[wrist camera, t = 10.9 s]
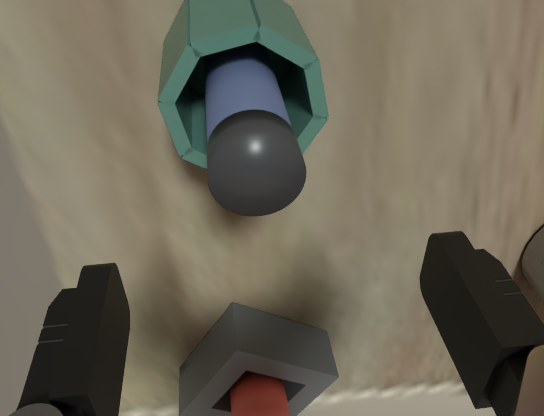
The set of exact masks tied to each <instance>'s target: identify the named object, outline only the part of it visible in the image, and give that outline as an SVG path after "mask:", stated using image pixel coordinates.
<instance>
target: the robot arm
mask: <svg viewBox="0 0 544 416" xmlns="http://www.w3.org/2000/svg"><path fill="white" fill-rule="evenodd" d="M522 272H523V274H524V276H525V278H526V280H527V281H528V282H529V284H530V285H531V286H532V288H533V289H534V291H535V292H536V293H537V295H538V296H539V298H540V299H541V300H542V302H543V303H544V227H543V228H542V229H541V230H540V231H539V232H538V233H537V234H536V235H535V236H534V237H533V239H532V240H531V241H530V243H529V244H528V246H527V248H526V250H525V252H524V254H523V259H522ZM420 288H421V292H422V296H423V298H424V300H425V303H426V305H427V307H428V309H429V311H430V313H431V315H432V318H433V320H434V322H435V324H436V326H437V328H438V330H439V332H440V335H441V337H442V339H443V341H444V343H445V345H446V347H447V349H448V352H449V354H450V356H451V358H452V360H453V362H454V364H455V366H456V369H457V371H458V373H459V375H460V377H461V379H462V381H463V383H464V386H465V388H466V390H467V392H468V394H469V396H470V398H471V400H472V403H473V405H474V407H475V409H479V408H487V407H493V409H494V411H495V413H496V415H497V416H544V325H543V323H542V322H541V320H540V319H539V317H538V316H537V314H536V313H535V311H534V310H533V309H532V307H531V306H530V304H529V303H528V301H527V300H526V298H525V297H524V295H523V294H521V293H520V289H519V288H518V287H517V285H516V284H515V282H514V281H512V278H511V276H510V275H509V273H508V272H507V270H506V269H505V268H504V266H503V265H502V263H501V262H500V261H499V260H497V259H496V258H495V257H494V256H492V255H491V254H490V253H488V252H487V251H486V250H484V249H477V250H475V249H474V248H473V246H472V244H471V243H470V241H469V240H468V238H467V237H466V235H465V234H464V233H463V232H461V231H455V232H445V233H434V234H431V235H430V237H429V239H428V243H427V248H426V252H425V256H424V260H423V265H422V269H421V273H420ZM129 330H130V310H129V304H128V300H127V297H126V294H125V290H124V287H123V284H122V280H121V277H120V274H119V270H118V267H117V265H116V264H115V263H108V264H97V265H87V266H83V268H82V270H81V273H80V277H79V281H78V285H77V288H69V289H62V290H61V292H60V293H59V294H58V296H57V297H56V298H55V299H54V301H53V302H52V303H51V305H50V306H49V307H48V310H47V314H46V317H45V320H44V324H43V329H42V330H41V334H40V337H39V340H38V342H39V344H38V345H37V347H36V350H35V353H34V356H33V360H32V363H31V367H30V370H29V373H28V376H27V380H26V383H25V386H24V389H23V393H22V396H21V400H20V402H19V405H18V407H17V409H16V411H15V412H13V413H12V414H10V415H9V416H118V413H119V406H120V398H121V391H122V383H123V376H124V368H125V360H126V353H127V345H128V338H129Z"/></svg>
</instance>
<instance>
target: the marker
mask: <svg viewBox="0 0 544 416" xmlns="http://www.w3.org/2000/svg"><path fill="white" fill-rule="evenodd" d="M203 66H204V85H205V105H206V125H207V149H206V155H207V176H208V186H209V189H210V192H211V194H212V196H213V197H214V199H215V200H216V201H217V202H218V203H219V204H220V205H221V206H222V207H224V208H225V209H227V210H229V211H231V212H233V213H236V214H239V215H244V216H263V215H268V214H272V213H275V212H277V211H279V210H281V209H283V208H285V207H286V206H288V205H289V204H290V203H292V202H293V201H294V200H295V199H296V198H297V196H298V195H299V194H300V192H301V190H302V188H303V186H304V183H305V180H306V166H305V162H304V159H303V156H302V153H301V150H300V147H299V144H298V140H297V137H296V134H295V132H294V130H293V128H292V126H291V123H290V120H289V117H288V114H287V111H286V107H285V104H284V101H283V98H282V95H281V92H280V88H279V85H278V82H277V79H276V76H275V73H274V69H273V66H272V63H271V60H270V57H269V53H268V50H267V47H265V46H264V45H262V44H260V43H258V42H257V41H256V42H253V43H249V44H245V45H242V46H238V47H234V48H231V49H227V50H223V51H220V52H216V53H212V54H209V55H205V56H203Z"/></svg>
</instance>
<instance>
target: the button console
mask: <svg viewBox="0 0 544 416" xmlns="http://www.w3.org/2000/svg"><path fill="white" fill-rule="evenodd" d="M245 371H251V372H255V373H259V374H263V375H267V376H271V377H275V378H280V379H284V384H285V389H286V395H287V401H288V407H289V413H290V416H297V415H298V414H299V413H300V412H301V411H302V410H303V409H304V408H305V407H307V406H308V405H309V404H310V403H311V402H312V401H313V400H314V399H315V398H316V397H318V396H319V395H320V394H321V393H322V392H323V391H324V390H325V389H326V388H327V387H328V386H330V385H331V384H332V383H333V382H334V381H335V380H336V379H337V378H338V377H339V375H338V372H337V368H336V364H335V360H334V357H333V353H332V349H331V345H330V341H329V338H328V334H327V331H324V330H321V329H317V328H314V327H311V326H308V325H304V324H301V323H298V322H295V321H291V320H288V319H285V318H282V317H278V316H275V315H272V314H269V313H265V312H262V311H259V310H255V309H252V308H249V307H246V306H242V305H239V304H236V303H233V302H232V304H231V305H230V306H229V307H228V308H227V310H226V311H225V312H224V313H223V315H222V316H221V317H220V318H219V320H218V321H217V322H216V323H215V325H214V326H213V327H212V328H211V330H210V331H209V332H208V333H207V335H206V336H205V337H204V338H203V340H202V341H201V342H200V343H199V345H198V346H197V347H196V348H195V349H194V351H193V352H192V353H191V354H190V356H189V357H188V358H187V359H186V361H185V362H184V363H183V364H182V366H181V367H180V379H179V416H232V413H231V399H230V387H231V386H232V385H233V384H234V383H235V382H236V381H237V380H238V379H239V377H240V376H241V375H242V374H243V373H244V372H245Z"/></svg>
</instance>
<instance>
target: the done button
mask: <svg viewBox="0 0 544 416" xmlns="http://www.w3.org/2000/svg"><path fill="white" fill-rule="evenodd" d="M230 399H231V413H232V416H290V413H289V407H288V401H287V395H286V389H285V384H284V379H280V378H275V377H271V376H267V375H263V374H259V373H255V372H251V371H245V372H244V373H243V374H242V375H241V376H240V377H239V379H238V380H237V381H236V382H235V383H234V384H233V385H232V386H231V387H230Z"/></svg>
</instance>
